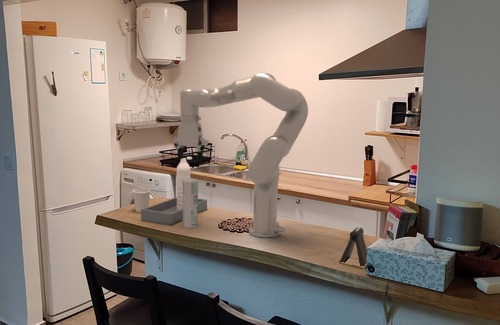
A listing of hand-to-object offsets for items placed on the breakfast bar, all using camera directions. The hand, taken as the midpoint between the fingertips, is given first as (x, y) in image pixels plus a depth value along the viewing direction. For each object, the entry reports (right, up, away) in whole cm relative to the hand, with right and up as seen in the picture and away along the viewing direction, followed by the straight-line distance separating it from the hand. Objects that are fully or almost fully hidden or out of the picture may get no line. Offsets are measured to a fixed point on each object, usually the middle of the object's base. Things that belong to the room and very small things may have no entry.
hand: (190, 159), depth 185 cm
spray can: (0, -28, +2) cm, 29 cm away
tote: (-9, -26, +18) cm, 33 cm away
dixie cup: (-26, -24, +24) cm, 43 cm away
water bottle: (-6, -24, +24) cm, 35 cm away
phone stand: (+61, -36, -35) cm, 79 cm away
